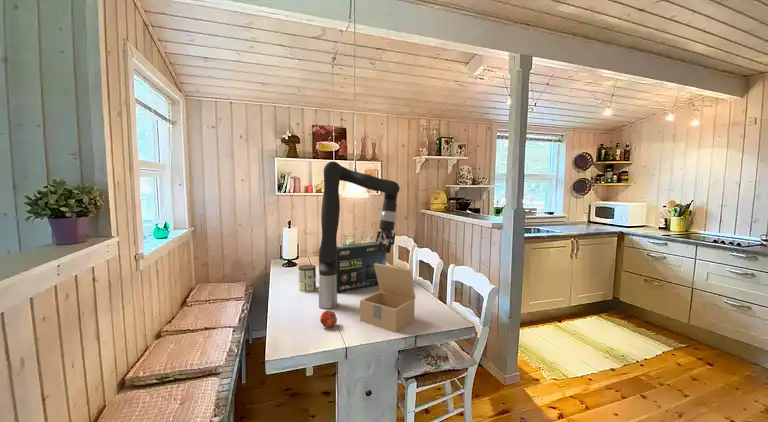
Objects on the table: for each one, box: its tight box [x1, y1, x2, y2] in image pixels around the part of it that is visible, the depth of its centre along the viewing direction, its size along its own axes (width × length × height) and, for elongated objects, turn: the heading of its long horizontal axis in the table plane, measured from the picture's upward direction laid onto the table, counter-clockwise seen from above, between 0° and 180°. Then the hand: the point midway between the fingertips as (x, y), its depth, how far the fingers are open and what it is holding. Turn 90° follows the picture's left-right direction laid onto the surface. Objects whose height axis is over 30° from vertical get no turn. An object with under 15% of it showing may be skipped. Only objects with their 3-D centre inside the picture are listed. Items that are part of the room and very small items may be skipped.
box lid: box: [374, 263, 416, 299], centre depth 157 cm, size 16×20×1 cm
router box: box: [337, 241, 387, 294], centre depth 204 cm, size 36×11×27 cm, turn 123°
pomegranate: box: [319, 310, 338, 329], centre depth 147 cm, size 7×7×10 cm
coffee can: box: [297, 264, 317, 293], centre depth 198 cm, size 10×10×14 cm
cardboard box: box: [359, 290, 416, 333], centre depth 153 cm, size 16×20×10 cm
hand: (383, 252), depth 165 cm, fingers open, 8 cm apart
